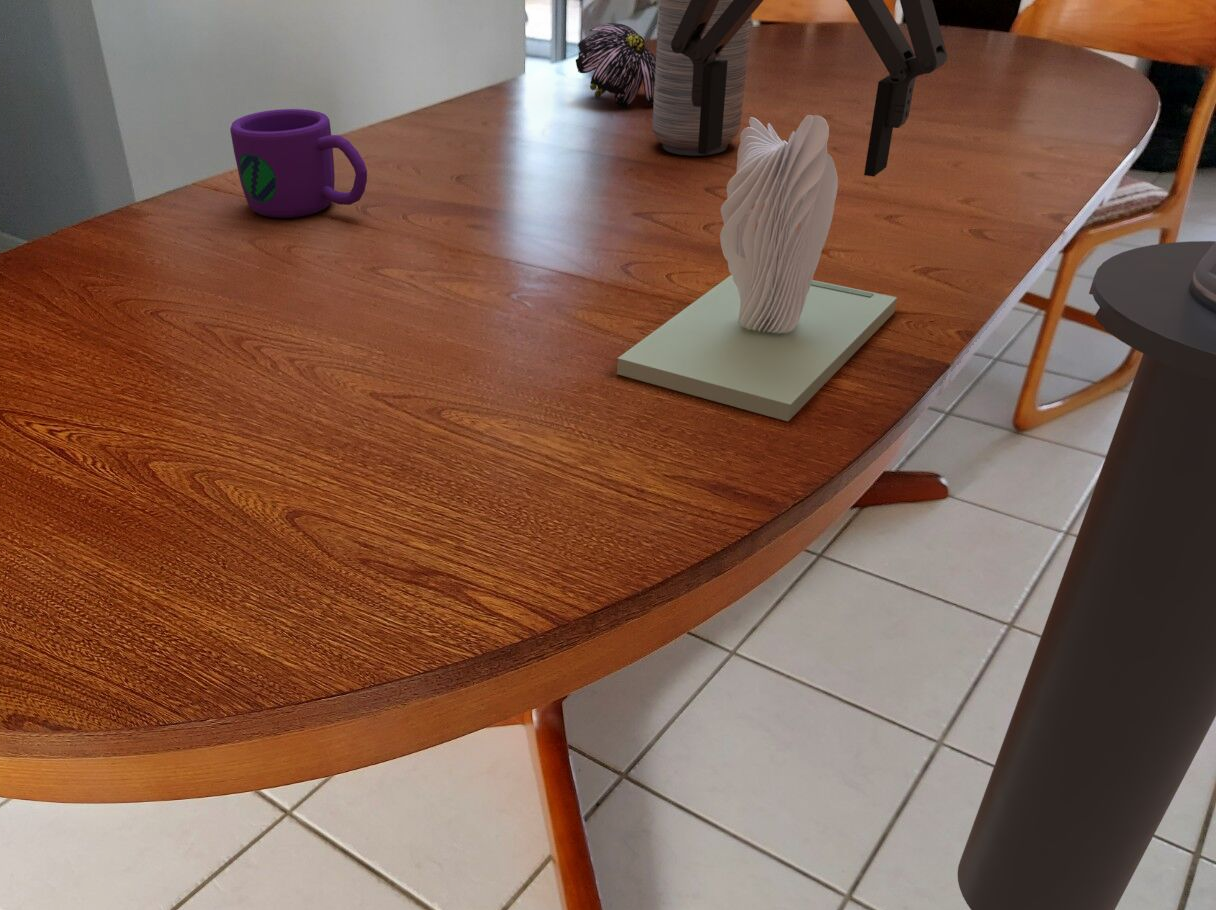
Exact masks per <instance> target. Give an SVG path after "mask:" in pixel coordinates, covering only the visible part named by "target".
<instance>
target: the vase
mask: <svg viewBox="0 0 1216 910" xmlns="http://www.w3.org/2000/svg"><path fill="white" fill-rule="evenodd" d="M690 1H691V0H658V9H657V11H658V12H657V28H656V29H657V31H656V48H655V57H656V65H655V84H654V103H652V105H653V107H652V123H651V124H652V125H651V126H652V131H653V134H654V136H655V138H656V139H657V141H659V142H660V143H661V144H662V145H661V147H662V149H663V150H664V151H665V152H668V153H670V154H673V155H678V156H679V155H680V156H687V157H688V156H689V157H690V156H691V157H701V156H702V157H703V156H712V155H716V154H720V153H722V152H724V151H726V150H727V149H728V145H729V144H730V143H731V142H732V141H734V140H735V139H736V137H737V136H738V135H739V133H740V130H741V127H742V118H743V116H742V115H743V106H744V96H745V86H746V77H747V68H748V67H747V65H748V57H749V46H750V36H751V26H752V17H753V16H752V15H753V14H752V15H751V16H750V17H749V18H748V20H747V21H746V22H745V23H744V24H743V26H742V27H741V28H740V29H739V30H738V32H737V33H736V34H735V35H734V36H733V38H732V39H731V40H730V41H729V42H728V44H727V45H726V46H725V47H724V48H723V50H722V51H721V52H720V53H721V55H720V56H718V57H716V61H717V60H728V63H727V76H726V90H725V103H724V116H723V129H722V143H721V146H720V147H718V148H717V149H715V150H713V151H711V152H709V153H708V154H701V153H698V143H699V127H700V111H701V107H697V106H693V103H692V86H693V85H692V82H693V62H692V60H691V59H690V58H689V57H687V56H685V55H683V54H681V53H678V54H677V53H674V52H673V51H672V48H671V42H672V39H673V37H674V35H675V33H676V31H677V29H678V27H679V25H680V22H681V20H682V18H683V16H684V14H685V12H686V10H687V7H688V5H689V3H690ZM732 1H733V0H719V2H718V4H717V6H716V8H715V10H714V12H713V14H712V16H711V18H710V20H709V22H708V24H707V26H706V29H705V31H704V33H703V35H702V37H701V38H702V39H703V37H704V36H705V35H706V34H707V32H708V31H709V30H710V29H711V27H712V26H713V25H714V24H715V22H716V21H717V20H718V19H719V17H720V16H721V15H722V14H723V12H724V11H725V10H726V9H727V8H728V6H729V5H730V4H731V3H732ZM720 53H719V54H720Z"/></svg>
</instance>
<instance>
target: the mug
mask: <svg viewBox="0 0 1216 910" xmlns="http://www.w3.org/2000/svg"><path fill="white" fill-rule="evenodd" d="M229 129H230V131H229V132H230V137H231V143H232V148H233V154H234V158H235V162H236V169H237V171H238V176H239V181H240V184H241V188H242V192H243V194H244V198H245V200H246V202H247V204H248V206H249V208H251V210H252V211H253V212H255V213H256V214H259V215H261V216H264V217H268V218H275V219H292V218H301V217H306V216H310V215H314V214H317V213H320V212H321V211H323V210H325V209H327V208H328V207H329V206H330V205H331V203H334V204H337V205H343V206H350V205H353V204H355V203H357V202H359V201H360V200H361V198H362V197H363V195H364V193H365V192H366V186H367V183H368V169H367V167H366V164H365V161H364V160H363V157H362V156H361V154H360V152H359V151H358V150H357V149H356V147H355V146H354V145H353V144H352V143H351V142H350V140H348V139H347V138H345V137H343V136H342V135H339V134H332V129H331V121H330V118H329V116H327V115H326V113H324V112H320V111H317V110H311V109H302V108H284V109H281V108H280V109H272V110H264V111H258V112H254V113H251V114H247V115H243V116H242V117H239V118H237V119H235V120H234V121H232V122H231V125H230V128H229ZM334 149H338V150H340V151H341V152H342V153H343V154H344V156H346V158H347V160H348V162H349V163H350V164H351V166H352V168H353V170H354V174H355V176H354V181H353V185H352V188H351V190H350V192H349V191H348V192H344V191H343V192H341V191H338V190H335V176H336V175H335V174H336V173H335V160H334V159H335V157H334Z"/></svg>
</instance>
